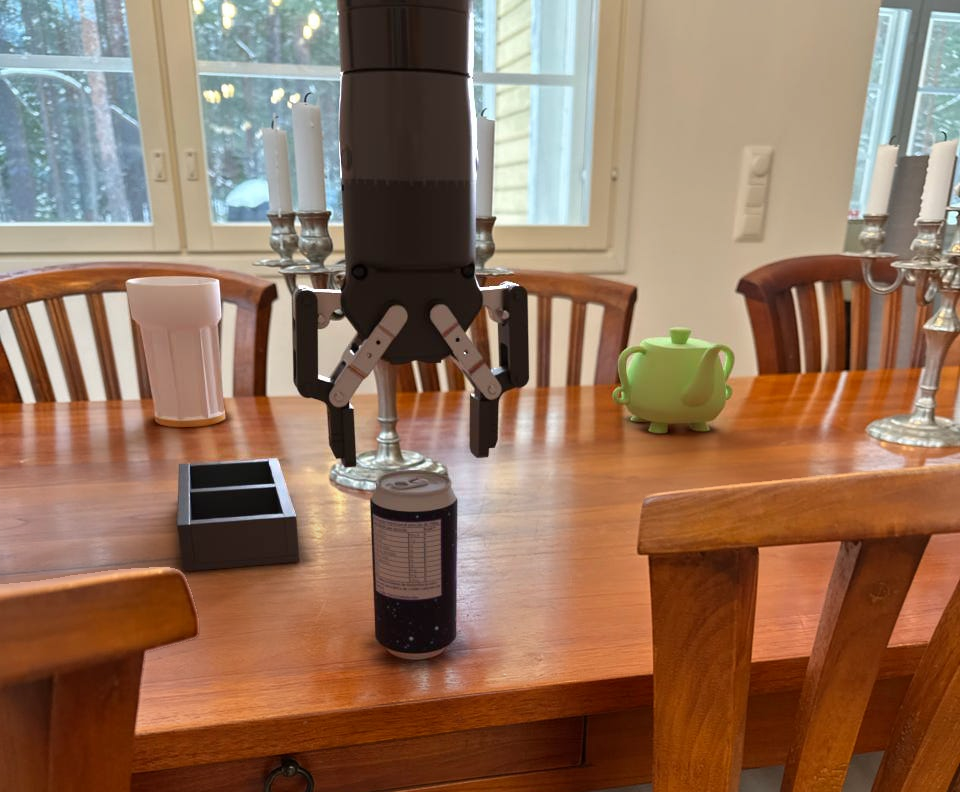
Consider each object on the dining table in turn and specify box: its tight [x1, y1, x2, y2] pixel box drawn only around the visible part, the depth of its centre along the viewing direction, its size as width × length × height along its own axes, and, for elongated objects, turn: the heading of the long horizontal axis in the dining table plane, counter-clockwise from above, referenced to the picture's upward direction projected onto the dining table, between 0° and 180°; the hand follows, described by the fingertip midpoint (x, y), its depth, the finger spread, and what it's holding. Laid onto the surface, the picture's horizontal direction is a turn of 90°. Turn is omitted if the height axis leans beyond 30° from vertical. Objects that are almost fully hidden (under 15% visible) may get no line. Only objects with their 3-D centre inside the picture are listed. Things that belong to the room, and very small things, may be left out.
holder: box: [176, 457, 301, 573], centre depth 82 cm, size 10×18×4 cm, turn 16°
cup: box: [125, 275, 226, 428], centre depth 116 cm, size 11×11×17 cm
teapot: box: [612, 327, 736, 434], centre depth 119 cm, size 16×14×13 cm
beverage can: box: [369, 469, 458, 660], centre depth 60 cm, size 6×6×12 cm
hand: (414, 459), depth 57 cm, fingers open, 8 cm apart
